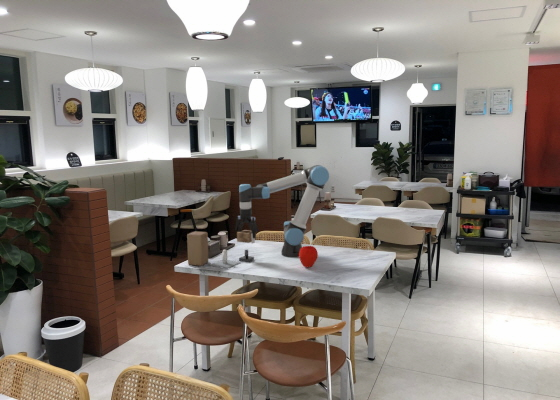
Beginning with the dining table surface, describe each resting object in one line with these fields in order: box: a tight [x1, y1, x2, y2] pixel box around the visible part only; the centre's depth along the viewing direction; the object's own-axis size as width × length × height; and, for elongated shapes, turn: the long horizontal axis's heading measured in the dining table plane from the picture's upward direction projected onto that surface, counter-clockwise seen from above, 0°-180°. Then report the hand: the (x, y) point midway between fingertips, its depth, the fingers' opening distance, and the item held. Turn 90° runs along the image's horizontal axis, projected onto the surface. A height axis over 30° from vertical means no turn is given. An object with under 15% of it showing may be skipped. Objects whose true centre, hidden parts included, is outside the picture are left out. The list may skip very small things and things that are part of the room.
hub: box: [209, 249, 241, 269], centre depth 283 cm, size 14×14×10 cm
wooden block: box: [186, 230, 209, 267], centre depth 285 cm, size 10×10×20 cm
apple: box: [299, 245, 319, 268], centre depth 276 cm, size 12×12×13 cm
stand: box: [238, 249, 255, 263], centre depth 292 cm, size 7×7×7 cm
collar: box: [236, 229, 257, 244], centre depth 290 cm, size 9×9×6 cm
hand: (246, 242), depth 291 cm, fingers closed on collar, 9 cm apart
